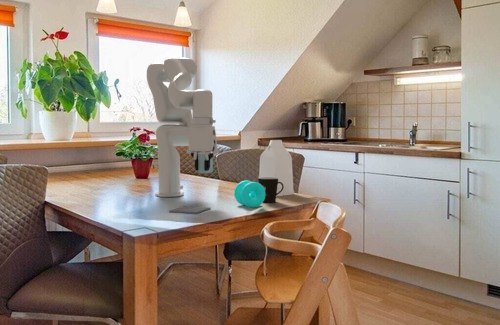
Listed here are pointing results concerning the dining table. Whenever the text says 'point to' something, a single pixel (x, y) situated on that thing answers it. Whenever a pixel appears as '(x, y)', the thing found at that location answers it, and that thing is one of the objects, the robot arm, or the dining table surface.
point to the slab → (201, 163)
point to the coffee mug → (270, 188)
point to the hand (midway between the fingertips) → (202, 169)
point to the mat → (190, 209)
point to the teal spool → (249, 188)
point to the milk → (277, 166)
